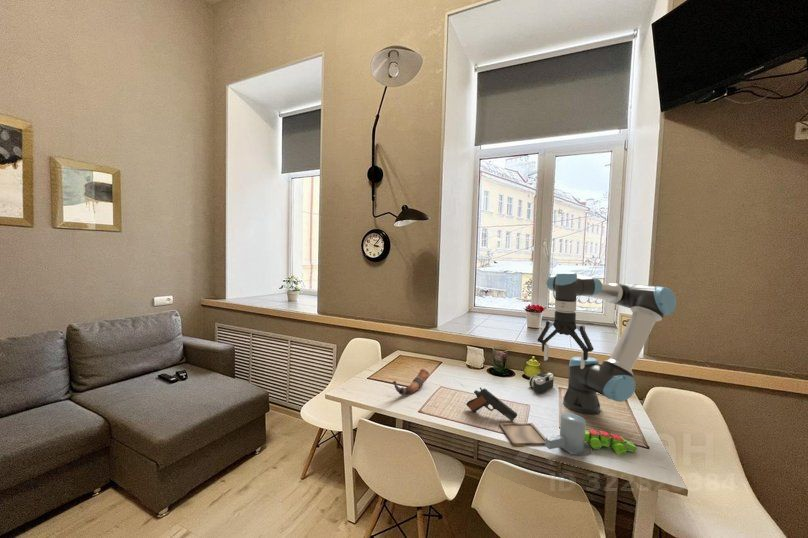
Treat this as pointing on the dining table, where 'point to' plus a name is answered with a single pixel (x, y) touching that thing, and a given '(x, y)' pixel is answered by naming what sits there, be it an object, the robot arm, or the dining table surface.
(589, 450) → the disc
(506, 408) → the handgun
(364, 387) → the dining table surface
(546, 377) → the camera
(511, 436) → the brown square tray
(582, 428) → the grey l-shaped block
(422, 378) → the drinking horn
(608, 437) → the toy crocodile
